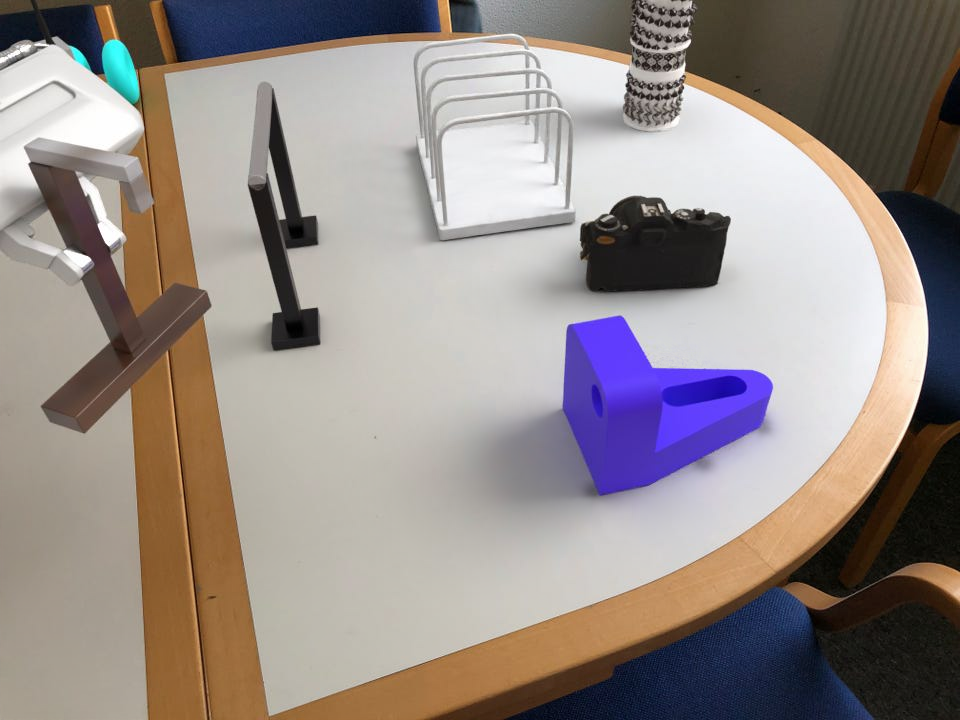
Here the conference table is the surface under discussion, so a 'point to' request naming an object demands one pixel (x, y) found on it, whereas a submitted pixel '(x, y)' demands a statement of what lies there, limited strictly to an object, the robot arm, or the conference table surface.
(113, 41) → the donuts
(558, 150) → the file sorter
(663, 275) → the film camera
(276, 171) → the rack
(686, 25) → the white patterned cylinder
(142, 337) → the headphone stand
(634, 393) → the bracket
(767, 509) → the conference table surface
